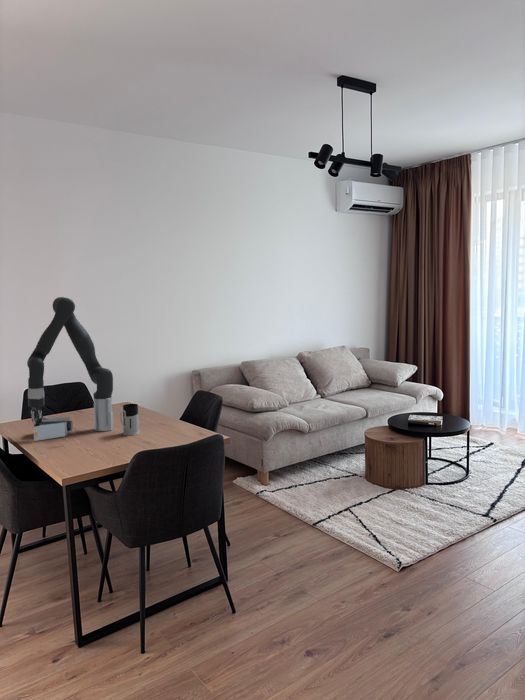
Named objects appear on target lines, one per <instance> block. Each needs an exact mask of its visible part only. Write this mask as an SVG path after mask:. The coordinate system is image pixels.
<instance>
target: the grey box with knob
mask: <svg viewBox="0 0 525 700" xmlns="http://www.w3.org/2000/svg"><path fill="white" fill-rule="evenodd" d="M65 422H66V427H67V436H68V435H69V434H70V433H71V431H73V427H74V426H73V425H74V423H73V422H74V421H72V420H71V416H52V417H51V416H50V417H48V416H43V418H42V422H41V423H40V424H39V426H42V425H49V424H56V423H65ZM64 437H65V436H63V438H64Z"/></svg>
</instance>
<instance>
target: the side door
mask: <svg viewBox="0 0 525 700" xmlns="http://www.w3.org/2000/svg"><path fill="white" fill-rule="evenodd" d="M32 429H33V441H34V442H37V441H43V440H50V439H55V438H62V437H63V436H64V437H67V436H68V435H67V427H66V422H65V423H56V424H49V425H42V426H35V427H34V426H33V428H32ZM64 437H63V438H64Z"/></svg>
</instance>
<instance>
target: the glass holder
mask: <svg viewBox="0 0 525 700" xmlns="http://www.w3.org/2000/svg"><path fill="white" fill-rule="evenodd" d="M119 415H120V422H121V425H122V427H123V428H122V429H123V430H122V435H123V436H126V435H127V436H130V437H131V435H132V436H138V435H140V434H139V433H140V427H139V426H140V423H139V404H137V403H127V404H126V403H125V404H123V405H122V410H121V412H120V414H119ZM137 434H138V435H137Z"/></svg>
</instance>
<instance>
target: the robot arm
mask: <svg viewBox="0 0 525 700" xmlns="http://www.w3.org/2000/svg"><path fill="white" fill-rule="evenodd" d="M75 309H76V304H75V302H74V300H73V299H71V298H69V297H64V296H59V297H56V298H54V300H53V301H52V310H53V312H54V313H55V314H54V316H53V318H52V320H51V321H50V323H49V324H48V326H47V327H46V328H45V330H44V331H43V332H42V333H41V335H40V337H39V339H38V341H37V343H36V345H35V348H34V349H33V351H32V353H31V354H30V356H29V357H28V359H27V362H26V365H27V367H28V371H29V372H28V373H29V374H28V375H29V376H28V379H27V380H28V381H27V384H28V385H27V387H28V388H27V389H28V390H27V406H28V407H29V408H31V410H30V411H29V412H30V416H31V418H30V419H31V421H32V423H33V427H35V426H39V424H40V423H41V422H42V418H43V417H44V414H42V413H43V411H42V407H43V408H44V406H45V404H46V403H45V388H44V387H45V386H44V383H45V382H44V373H45V362H44V361H45V359H46V357H47V356H48V355H49V354H50V353H51V352H52V348H53V346H54V344H55V343H56V341H57V338H58V336H59V335H60V333H61V331H62V330H63V328H64V329H65V330H66V333H67V335H68V337H69V339H70V340H71V341H70V342H71V343H72V345H73V347H74V349H75V350H76V352H77V354H78V355H79V357H80V359H81V362H83V364H84V366H85V368H86V371H87V374H88V376H89V378H90V380H91V382H92V383H93V384H95V385H96V390H95V391H94V392H93V420H94V421H93V422H94V431H95V432H107V431H112V430H113V429H114V412H113V404H112V401H113V399H112V395H113V391H114V376H113V372H112V371H111V370H110V369H109V368H105V367H102V365H101V364H100V362H99V360H98V359H97V356H96V355H97V354H96V348H95V344H94V341H93V340H92V338H91V336H90V334H89V332H88V331H87V329H86V328H85V327H84V326H83V325H82V324H81V323H80V322H79V319H77V317H76V315H75V313H74V312H75Z"/></svg>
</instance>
